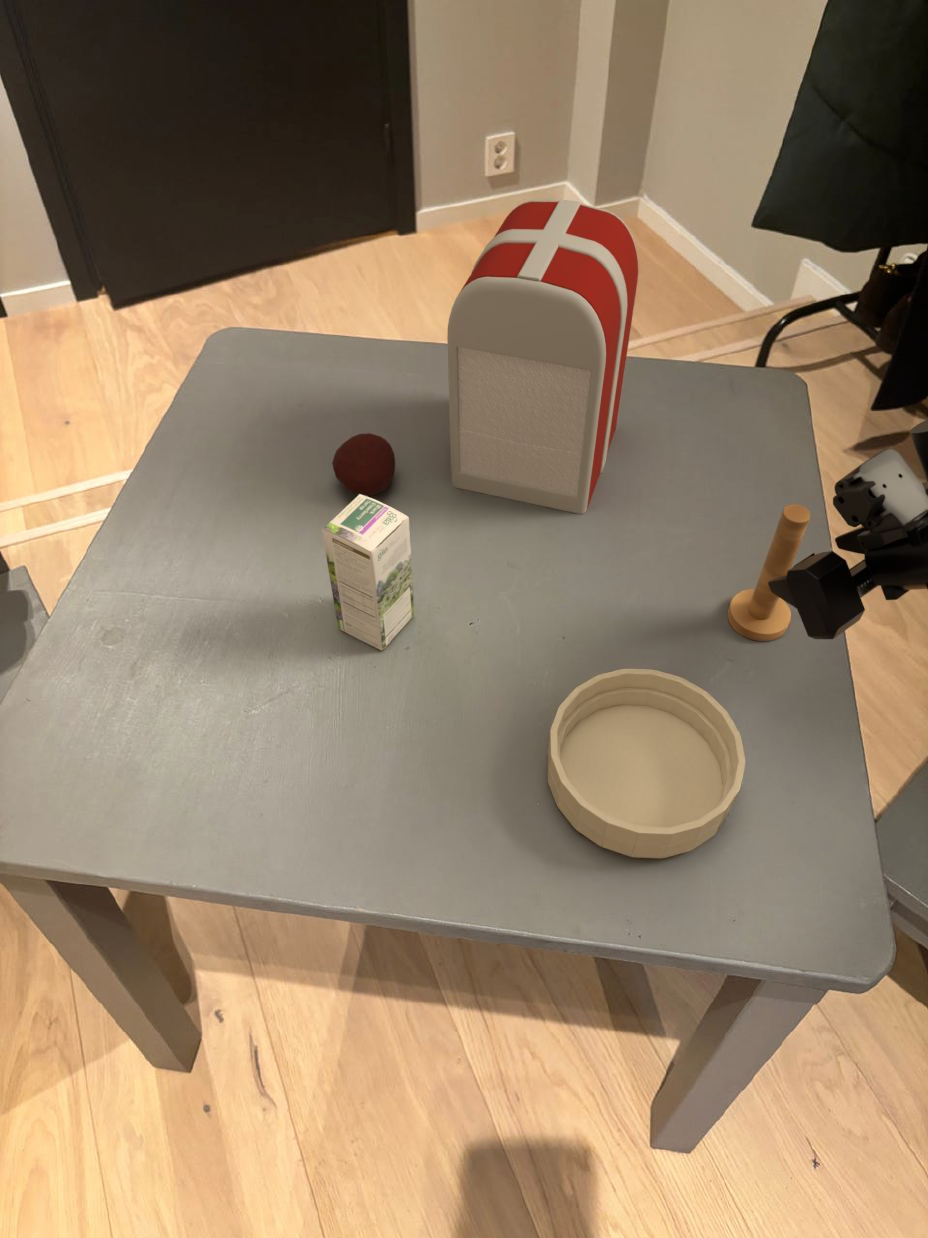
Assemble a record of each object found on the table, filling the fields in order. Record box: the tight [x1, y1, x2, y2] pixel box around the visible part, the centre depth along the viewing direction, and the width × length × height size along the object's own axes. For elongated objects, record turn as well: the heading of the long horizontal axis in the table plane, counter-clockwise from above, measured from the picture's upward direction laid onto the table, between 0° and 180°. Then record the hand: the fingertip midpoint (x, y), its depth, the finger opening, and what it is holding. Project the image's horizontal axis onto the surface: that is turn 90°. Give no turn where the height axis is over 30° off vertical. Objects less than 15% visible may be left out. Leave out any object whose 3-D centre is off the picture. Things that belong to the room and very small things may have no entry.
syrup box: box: [321, 494, 415, 652], centre depth 86 cm, size 6×6×14 cm
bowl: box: [546, 668, 747, 859], centre depth 78 cm, size 16×16×5 cm
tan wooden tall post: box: [727, 503, 812, 642], centre depth 85 cm, size 6×6×15 cm
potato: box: [331, 432, 396, 497], centre depth 103 cm, size 7×8×6 cm
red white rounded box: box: [446, 198, 640, 515], centre depth 98 cm, size 16×18×27 cm
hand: (804, 564), depth 82 cm, fingers open, 9 cm apart
